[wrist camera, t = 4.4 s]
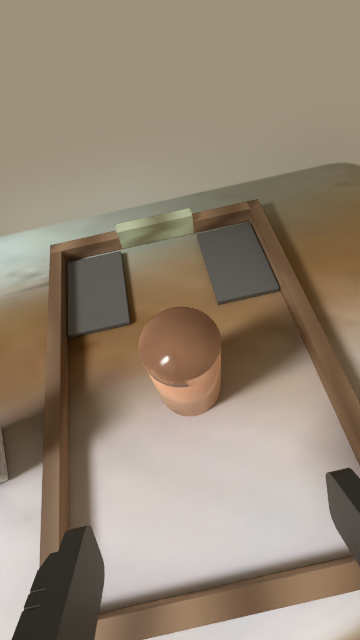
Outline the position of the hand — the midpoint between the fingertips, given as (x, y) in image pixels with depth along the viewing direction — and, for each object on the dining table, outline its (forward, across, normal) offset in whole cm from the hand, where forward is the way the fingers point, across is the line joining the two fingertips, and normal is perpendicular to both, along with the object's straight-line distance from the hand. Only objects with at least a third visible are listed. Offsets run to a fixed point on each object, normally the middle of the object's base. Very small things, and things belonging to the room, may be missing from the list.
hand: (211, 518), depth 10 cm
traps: (+23, 0, -6) cm, 24 cm away
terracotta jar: (+15, 0, +2) cm, 15 cm away
